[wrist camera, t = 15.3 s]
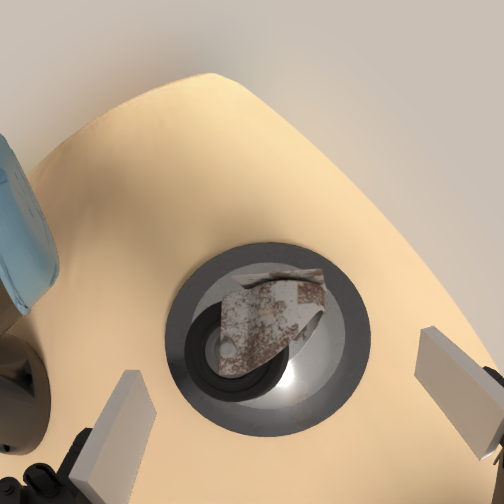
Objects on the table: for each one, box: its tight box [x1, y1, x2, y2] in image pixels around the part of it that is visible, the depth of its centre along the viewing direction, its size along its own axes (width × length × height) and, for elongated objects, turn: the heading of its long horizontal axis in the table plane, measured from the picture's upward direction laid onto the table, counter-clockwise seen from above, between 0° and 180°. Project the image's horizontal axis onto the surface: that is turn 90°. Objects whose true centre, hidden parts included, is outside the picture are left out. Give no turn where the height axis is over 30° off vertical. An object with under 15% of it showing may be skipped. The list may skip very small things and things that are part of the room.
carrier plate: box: [165, 242, 371, 437], centre depth 27 cm, size 19×19×1 cm
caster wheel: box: [184, 269, 327, 402], centre depth 23 cm, size 7×11×10 cm
